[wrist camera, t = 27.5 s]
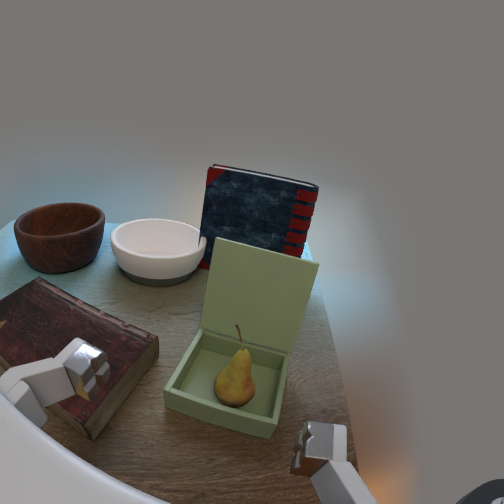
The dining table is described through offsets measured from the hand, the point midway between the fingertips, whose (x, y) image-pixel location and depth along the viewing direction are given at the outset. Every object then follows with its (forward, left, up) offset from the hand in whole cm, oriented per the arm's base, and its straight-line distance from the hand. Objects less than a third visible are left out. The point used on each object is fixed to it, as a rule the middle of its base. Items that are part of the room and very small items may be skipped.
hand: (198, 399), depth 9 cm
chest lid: (+1, -28, -13) cm, 31 cm away
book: (+7, -57, -25) cm, 63 cm away
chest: (+1, -20, -25) cm, 32 cm away
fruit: (0, -18, -24) cm, 30 cm away
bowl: (+27, -47, -25) cm, 60 cm away
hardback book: (+28, -13, -25) cm, 40 cm away
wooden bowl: (+52, -38, -25) cm, 69 cm away
